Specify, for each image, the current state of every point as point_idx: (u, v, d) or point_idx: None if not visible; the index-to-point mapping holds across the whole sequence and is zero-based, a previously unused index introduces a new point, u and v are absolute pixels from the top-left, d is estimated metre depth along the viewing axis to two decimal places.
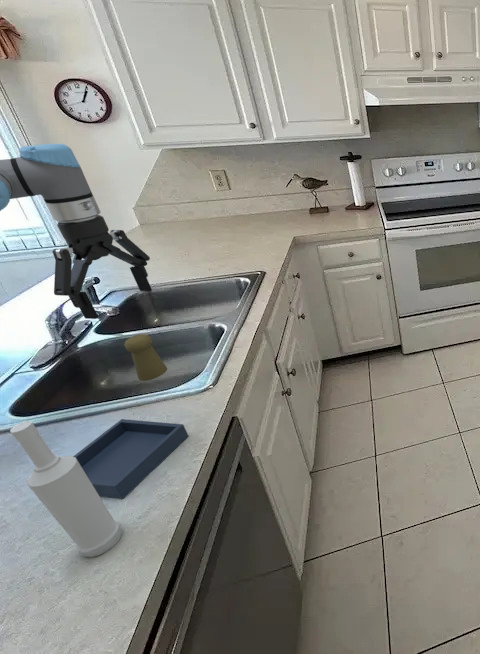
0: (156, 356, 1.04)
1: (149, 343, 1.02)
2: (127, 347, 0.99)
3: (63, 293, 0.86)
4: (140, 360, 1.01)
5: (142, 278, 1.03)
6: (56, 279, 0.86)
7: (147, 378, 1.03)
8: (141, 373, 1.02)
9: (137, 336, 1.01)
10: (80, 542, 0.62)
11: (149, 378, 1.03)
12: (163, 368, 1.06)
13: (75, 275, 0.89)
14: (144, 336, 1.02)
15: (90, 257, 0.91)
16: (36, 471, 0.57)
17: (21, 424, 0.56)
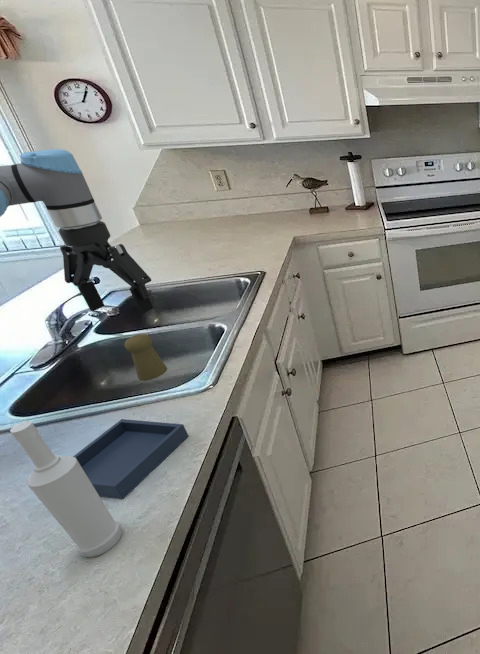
0: (156, 356, 1.04)
1: (149, 343, 1.02)
2: (127, 347, 0.99)
3: (150, 279, 0.94)
4: (140, 360, 1.01)
5: (96, 293, 0.98)
6: (133, 271, 0.92)
7: (147, 378, 1.03)
8: (141, 373, 1.02)
9: (137, 336, 1.01)
10: (80, 542, 0.62)
11: (149, 378, 1.03)
12: (163, 368, 1.06)
13: None
14: (144, 336, 1.02)
15: None
16: (36, 471, 0.57)
17: (21, 424, 0.56)
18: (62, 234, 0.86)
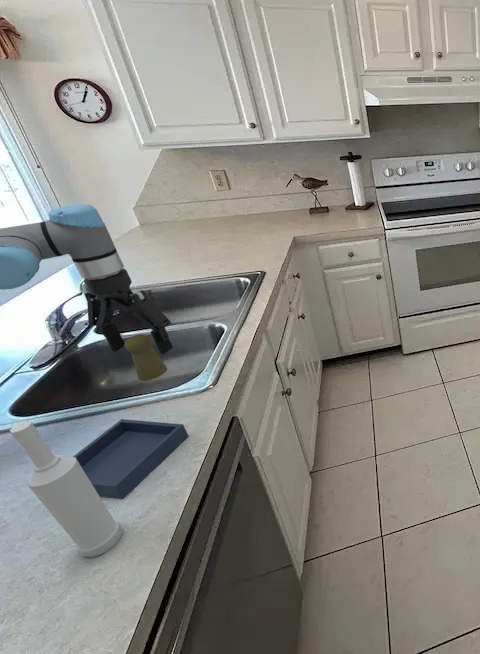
0: (156, 356, 1.04)
1: (149, 343, 1.02)
2: (127, 347, 0.99)
3: (169, 321, 0.99)
4: (140, 360, 1.01)
5: (118, 334, 1.03)
6: (154, 316, 0.96)
7: (147, 378, 1.03)
8: (141, 373, 1.02)
9: (137, 336, 1.01)
10: (80, 542, 0.62)
11: (149, 378, 1.03)
12: (163, 368, 1.06)
13: None
14: (144, 336, 1.02)
15: None
16: (36, 471, 0.57)
17: (21, 424, 0.56)
18: (87, 284, 0.91)
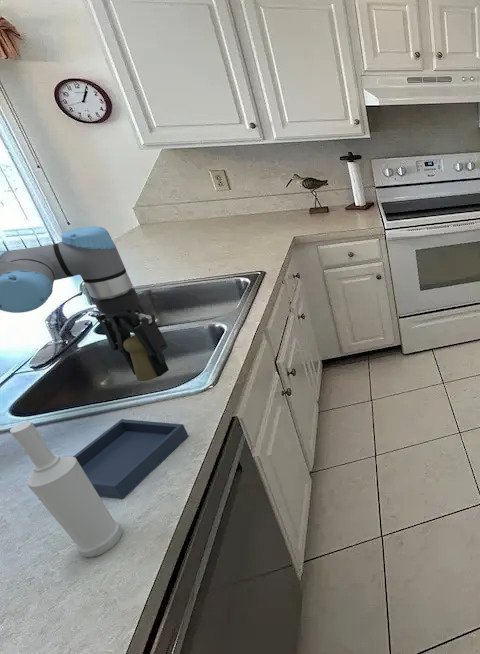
0: None
1: None
2: (126, 347, 0.99)
3: (166, 346, 1.02)
4: (138, 360, 1.01)
5: None
6: (155, 340, 1.00)
7: (145, 378, 1.03)
8: (140, 373, 1.02)
9: None
10: (80, 542, 0.62)
11: (148, 378, 1.03)
12: None
13: None
14: None
15: None
16: (36, 471, 0.57)
17: (21, 424, 0.56)
18: (97, 303, 0.93)
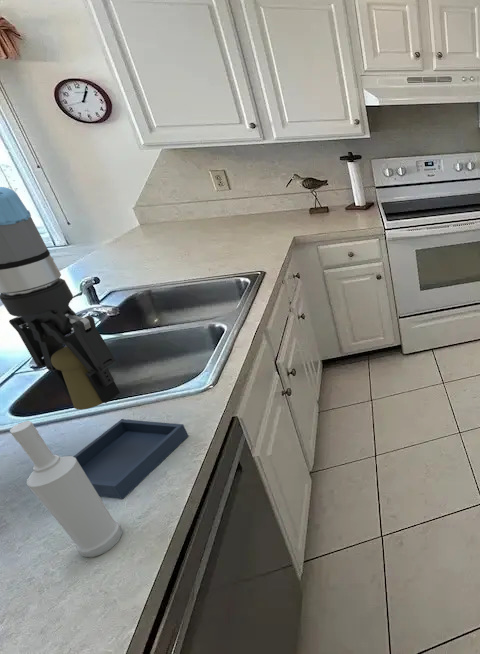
0: None
1: None
2: (54, 363, 0.70)
3: (114, 361, 0.73)
4: (74, 381, 0.72)
5: None
6: (96, 353, 0.70)
7: (85, 406, 0.73)
8: (77, 399, 0.73)
9: None
10: (80, 542, 0.62)
11: (88, 406, 0.74)
12: None
13: None
14: None
15: None
16: (36, 471, 0.57)
17: (21, 424, 0.56)
18: (4, 301, 0.63)
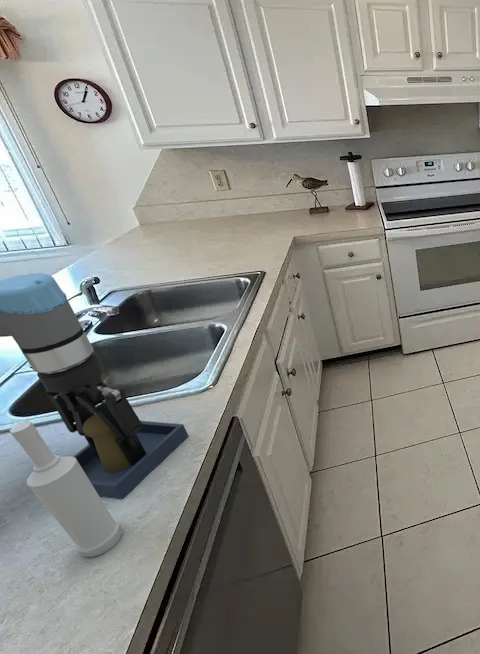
0: None
1: None
2: (86, 432, 0.74)
3: (142, 426, 0.77)
4: (104, 447, 0.76)
5: None
6: (126, 422, 0.74)
7: (114, 469, 0.77)
8: (106, 463, 0.77)
9: None
10: (80, 542, 0.62)
11: (117, 469, 0.78)
12: None
13: None
14: None
15: None
16: (36, 471, 0.57)
17: (21, 424, 0.56)
18: (42, 379, 0.67)
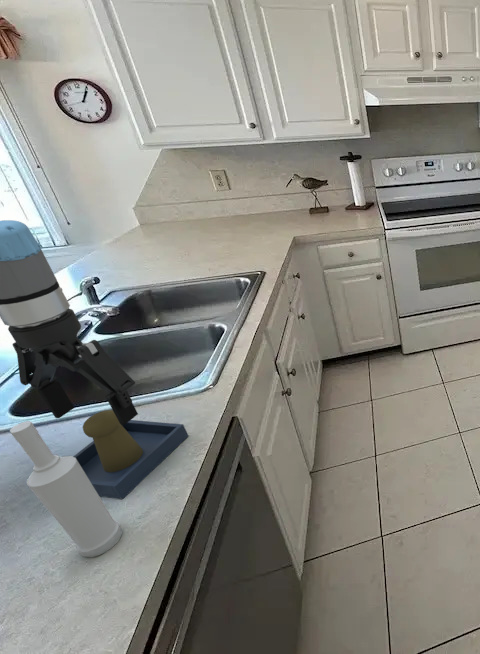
0: (127, 438, 0.79)
1: (117, 423, 0.76)
2: (86, 432, 0.74)
3: (133, 382, 0.72)
4: (104, 447, 0.76)
5: (63, 394, 0.76)
6: (111, 376, 0.69)
7: (114, 469, 0.77)
8: (106, 463, 0.77)
9: (100, 415, 0.76)
10: (80, 542, 0.62)
11: (117, 469, 0.78)
12: (137, 453, 0.80)
13: None
14: (110, 414, 0.76)
15: None
16: (36, 471, 0.57)
17: (21, 424, 0.56)
18: (13, 334, 0.64)
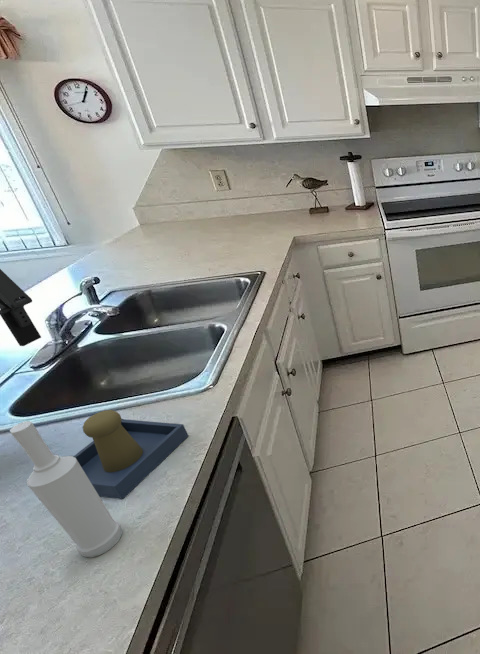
0: (127, 438, 0.79)
1: (117, 423, 0.76)
2: (86, 432, 0.74)
3: (29, 299, 0.69)
4: (104, 447, 0.76)
5: None
6: (2, 289, 0.66)
7: (114, 469, 0.77)
8: (106, 463, 0.77)
9: (100, 415, 0.76)
10: (80, 542, 0.62)
11: (117, 469, 0.78)
12: (137, 453, 0.80)
13: None
14: (110, 414, 0.76)
15: None
16: (36, 471, 0.57)
17: (21, 424, 0.56)
18: None
